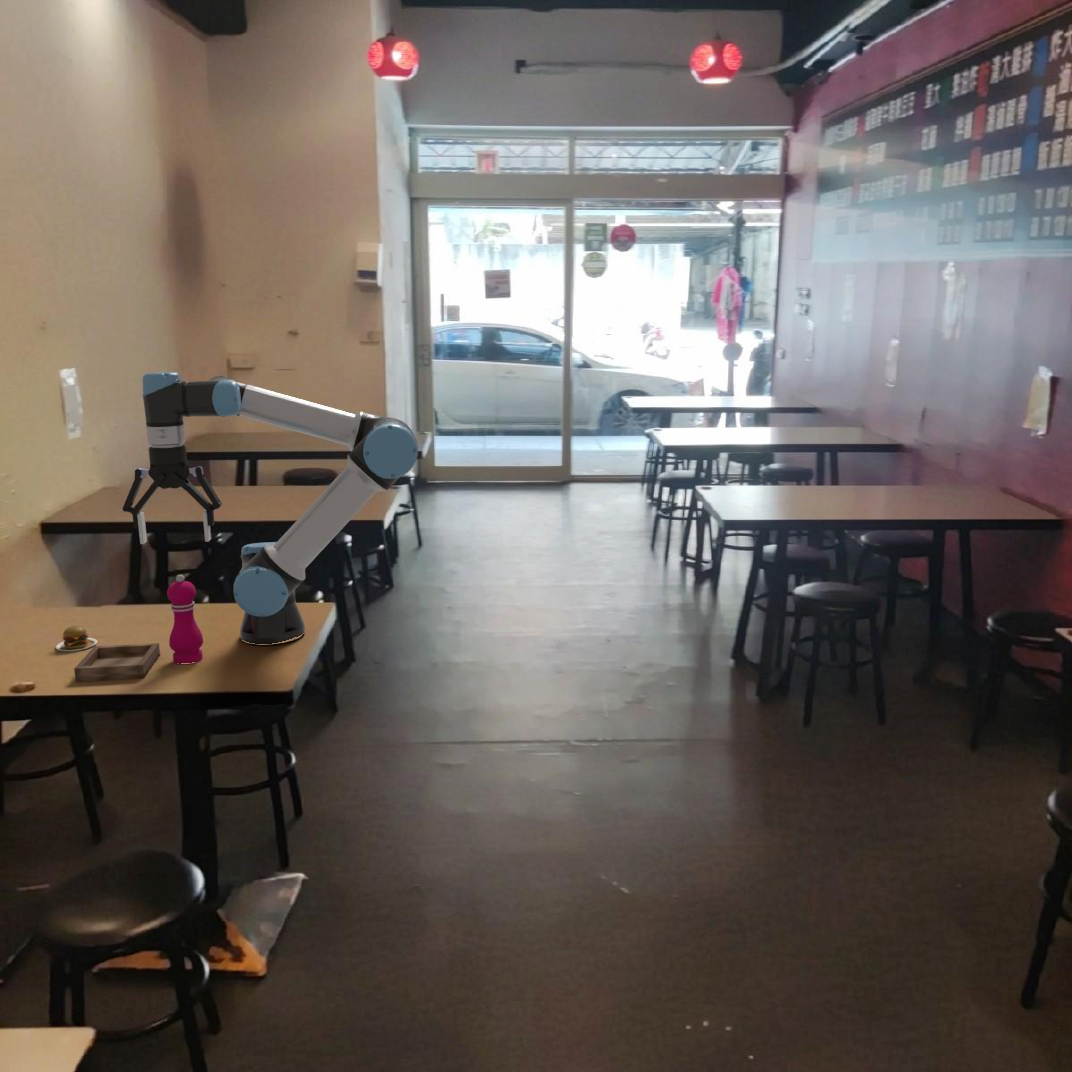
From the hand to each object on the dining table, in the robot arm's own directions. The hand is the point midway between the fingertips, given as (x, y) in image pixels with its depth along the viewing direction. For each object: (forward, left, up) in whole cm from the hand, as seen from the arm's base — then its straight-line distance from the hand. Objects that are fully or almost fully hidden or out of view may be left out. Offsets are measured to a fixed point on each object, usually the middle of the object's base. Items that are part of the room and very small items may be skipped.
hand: (176, 541), depth 210 cm
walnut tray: (+14, +3, -28) cm, 31 cm away
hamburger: (+28, -14, -28) cm, 42 cm away
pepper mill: (0, 0, -28) cm, 28 cm away
